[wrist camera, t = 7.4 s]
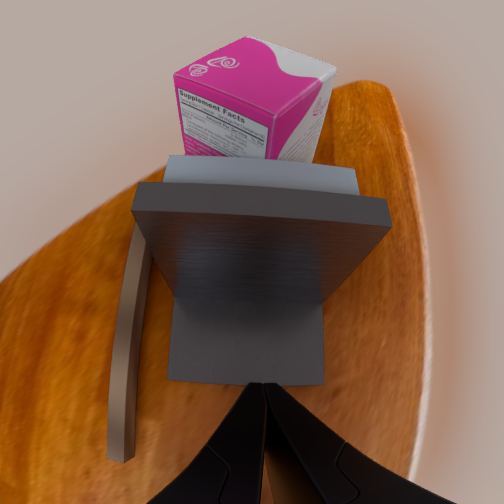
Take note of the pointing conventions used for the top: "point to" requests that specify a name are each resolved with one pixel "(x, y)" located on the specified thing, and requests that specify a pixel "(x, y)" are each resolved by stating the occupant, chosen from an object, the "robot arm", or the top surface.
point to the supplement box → (253, 102)
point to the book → (261, 173)
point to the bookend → (253, 274)
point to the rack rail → (127, 351)
